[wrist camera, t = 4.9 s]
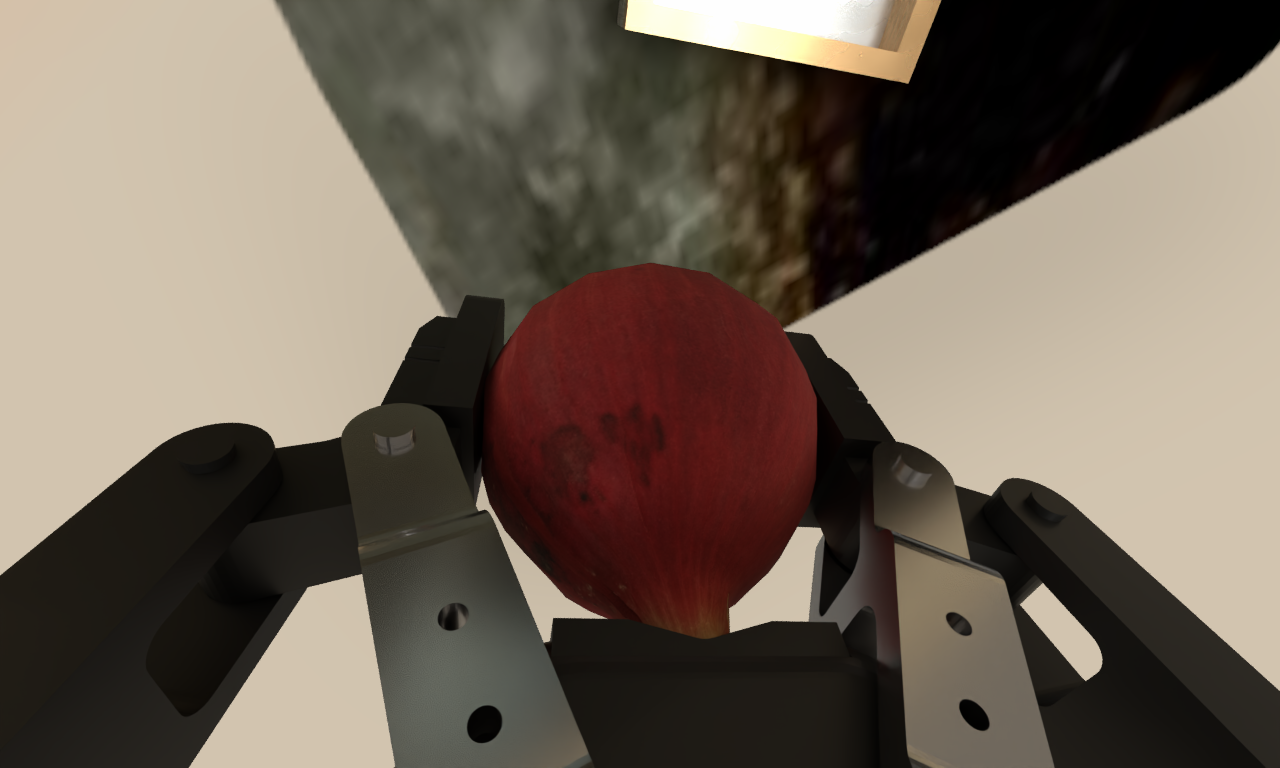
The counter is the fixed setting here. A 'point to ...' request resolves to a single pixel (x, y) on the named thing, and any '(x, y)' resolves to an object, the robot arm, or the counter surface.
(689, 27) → the wooden tray
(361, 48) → the counter surface
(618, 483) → the onion
